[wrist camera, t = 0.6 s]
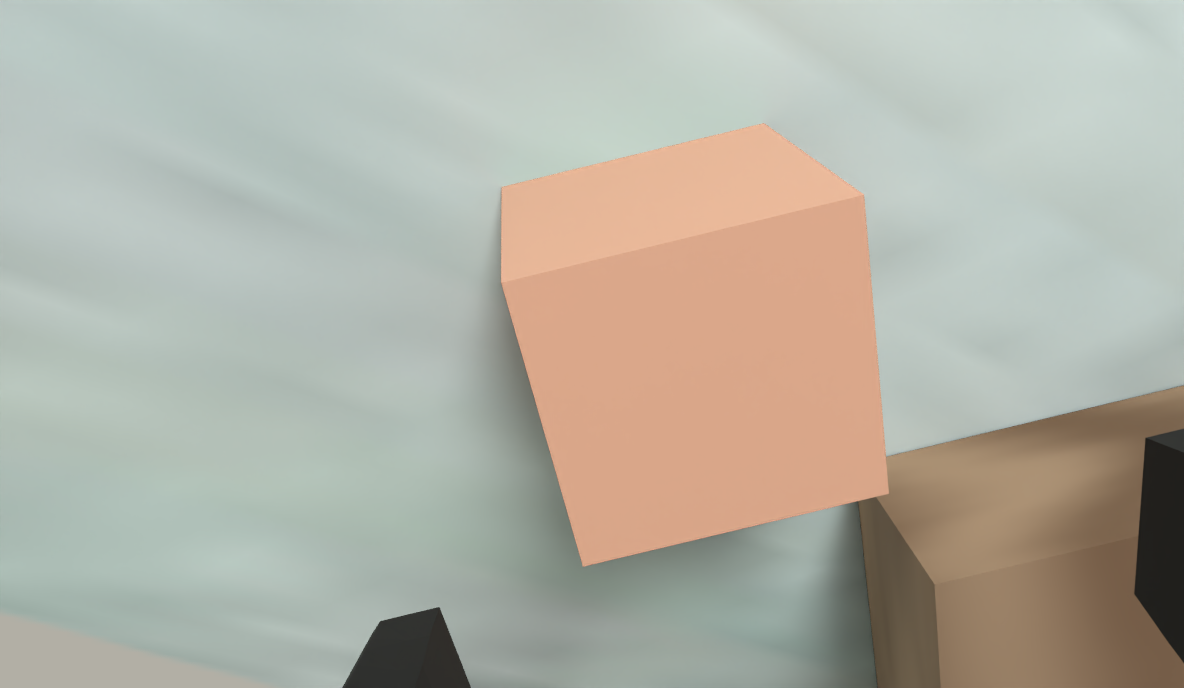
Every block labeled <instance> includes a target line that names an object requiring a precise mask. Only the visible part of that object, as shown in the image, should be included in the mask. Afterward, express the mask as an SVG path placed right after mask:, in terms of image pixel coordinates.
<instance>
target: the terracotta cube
mask: <svg viewBox="0 0 1184 688" xmlns="http://www.w3.org/2000/svg"><path fill="white" fill-rule="evenodd" d="M501 284H502V287H503V291H504V294H505V298H506V301H507V305H508V308H509V312H510V315H511V318H512V322H513V325H514V329H515V332H516V336H517V339H518V343H519V346H520V350H521V353H522V357H523V360H524V364H525V367H526V371H527V374H528V377H529V381H530V384H531V388H532V391H533V395H534V398H535V402H536V405H537V409H538V412H539V416H540V419H541V423H542V426H543V430H544V433H545V436H546V440H547V443H548V447H549V450H550V454H551V457H552V461H553V464H554V468H555V471H556V475H557V478H558V482H559V485H560V488H561V492H562V495H563V499H564V502H565V506H566V509H567V513H568V516H569V520H570V523H571V527H572V530H573V534H574V537H575V541H576V544H577V547H578V551H579V554H580V558H581V561H582V565H583V567H584V566H588V565H592V564H596V563H601V562H605V561H609V560H613V559H617V558H622V557H626V556H630V555H634V554H638V553H642V552H647V551H651V550H655V549H659V548H663V547H668V546H672V545H676V544H680V543H684V542H689V541H693V540H697V539H701V538H705V537H710V536H714V535H718V534H722V533H726V532H731V531H735V530H739V529H743V528H747V527H751V526H756V525H760V524H764V523H768V522H772V521H777V520H781V519H785V518H789V517H793V516H798V515H802V514H806V513H810V512H814V511H819V510H823V509H827V508H831V507H835V506H839V505H844V504H848V503H852V502H856V501H860V500H865V499H869V498H873V497H877V496H881V495H886V494H889V488H888V476H887V464H886V452H885V440H884V428H883V416H882V404H881V392H880V380H879V368H878V356H877V344H876V333H875V321H874V309H873V297H872V285H871V273H870V261H869V249H868V237H867V225H866V213H865V201H864V194H862V193H861V192H859V191H858V190H857V189H855V188H854V187H852V186H851V185H850V184H848V183H847V182H845V181H844V180H843V179H841V178H840V177H838V176H837V175H836V174H834V173H833V172H831V171H830V170H829V169H827V168H826V167H824V166H823V165H822V164H820V163H819V162H817V161H816V160H815V159H813V158H812V157H810V156H809V155H808V154H806V153H805V152H803V151H802V150H801V149H799V148H798V147H796V146H795V145H794V144H792V143H791V142H790V141H788V140H787V139H785V138H784V137H783V136H781V135H780V134H778V133H777V132H776V131H774V130H773V129H771V128H770V127H769V126H767V125H766V124H764V123H763V124H759V125H755V126H750V127H746V128H742V129H738V130H734V131H730V132H726V133H722V134H718V135H713V136H709V137H705V138H701V139H697V140H693V141H689V142H685V143H681V144H677V145H672V146H668V147H664V148H660V149H656V150H652V151H648V152H644V153H640V154H635V155H631V156H627V157H623V158H619V159H615V160H611V161H607V162H603V163H599V164H594V165H590V166H586V167H582V168H578V169H574V170H570V171H566V172H562V173H557V174H553V175H549V176H545V177H541V178H537V179H533V180H529V181H525V182H521V183H516V184H512V185H508V186H504V187H502V208H501Z"/></svg>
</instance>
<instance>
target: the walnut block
mask: <svg viewBox="0 0 1184 688" xmlns="http://www.w3.org/2000/svg"><path fill="white" fill-rule="evenodd" d="M1180 429H1184V386H1180V387H1176V388H1172V389H1167V390H1163V391H1159V392H1155V393H1151V394H1147V395H1142V396H1138V397H1134V398H1130V399H1126V400H1122V401H1117V402H1113V403H1109V404H1105V405H1101V406H1097V407H1092V408H1088V409H1084V410H1080V411H1076V412H1072V413H1067V414H1063V415H1059V416H1055V417H1051V418H1046V419H1042V420H1038V421H1034V422H1030V423H1026V424H1021V425H1017V426H1013V427H1009V428H1005V429H1001V430H996V431H992V432H988V433H984V434H980V435H976V436H971V437H967V438H963V439H959V440H955V441H951V442H946V443H942V444H938V445H934V446H930V447H926V448H921V449H917V450H913V451H909V452H905V453H901V454H896V455H892V456H888V457H886V464H887V476H888V488H889V494H886V495H881V496H877V497H873V498H869V499H865V500H860V501H858V504H859V513H860V523H861V532H862V542H863V551H864V561H865V571H866V580H867V590H868V599H869V609H870V618H871V628H872V638H873V647H874V657H875V666H876V676H877V685H878V688H1184V663H1183V661H1182V660H1181V659H1180V657H1179V656H1178V655H1177V653H1176V652H1175V651H1174V649H1173V648H1172V647H1171V645H1170V644H1169V643H1168V641H1167V640H1166V638H1165V637H1164V636H1163V634H1162V633H1161V631H1160V630H1159V629H1158V627H1157V626H1156V624H1155V623H1154V621H1153V620H1152V619H1151V617H1150V616H1149V614H1148V613H1147V611H1146V610H1145V609H1144V607H1143V606H1142V604H1141V603H1140V602H1139V600H1138V599H1137V597H1136V596H1135V594H1134V589H1135V575H1136V561H1137V547H1138V533H1139V520H1140V506H1141V492H1142V478H1143V464H1144V450H1145V438H1146V437H1151V436H1155V435H1159V434H1163V433H1167V432H1171V431H1176V430H1180Z"/></svg>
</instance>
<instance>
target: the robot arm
mask: <svg viewBox="0 0 1184 688" xmlns="http://www.w3.org/2000/svg"><path fill="white" fill-rule="evenodd" d="M1134 594H1135V596H1136V597H1137V599H1138V600H1139V602H1140V603H1141V604H1142V606H1143V607H1144V609H1145V610H1146V611H1147V613H1148V614H1149V616H1150V617H1151V619H1152V620H1153V621H1154V623H1155V624H1156V626H1157V627H1158V629H1159V630H1160V631H1161V633H1162V634H1163V636H1164V637H1165V638H1166V640H1167V641H1168V643H1169V644H1170V645H1171V647H1172V648H1173V649H1174V651H1175V652H1176V653H1177V655H1178V656H1179V657H1180V659H1181V660H1182V661H1183V663H1184V429H1180V430H1176V431H1171V432H1167V433H1163V434H1159V435H1155V436H1151V437H1146V438H1145V450H1144V464H1143V478H1142V492H1141V506H1140V520H1139V533H1138V547H1137V561H1136V575H1135V589H1134ZM343 688H471V687H470V684H469V682H468V679H467V676H466V674H465V671H464V669H463V666H462V664H461V661H460V659H459V656H458V654H457V651H456V648H455V646H454V643H453V641H452V638H451V636H450V633H449V631H448V628H447V625H446V623H445V620H444V618H443V615H442V613H441V610H440V608H439V607H438V608H434V609H429V610H425V611H421V612H417V613H413V614H409V615H404V616H400V617H396V618H392V619H388V620H384V621H380V623H379V624H378V626H377V627H376V629H375V630H374V632H373V633H372V635H371V637H370V639H369V640H368V642H367V644H366V646H365V648H364V649H363V651H362V653H361V655H360V657H359V658H358V660H357V662H356V664H355V666H354V668H353V669H352V671H351V673H350V675H349V677H348V678H347V680H346V682H345V684H344V686H343Z"/></svg>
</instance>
